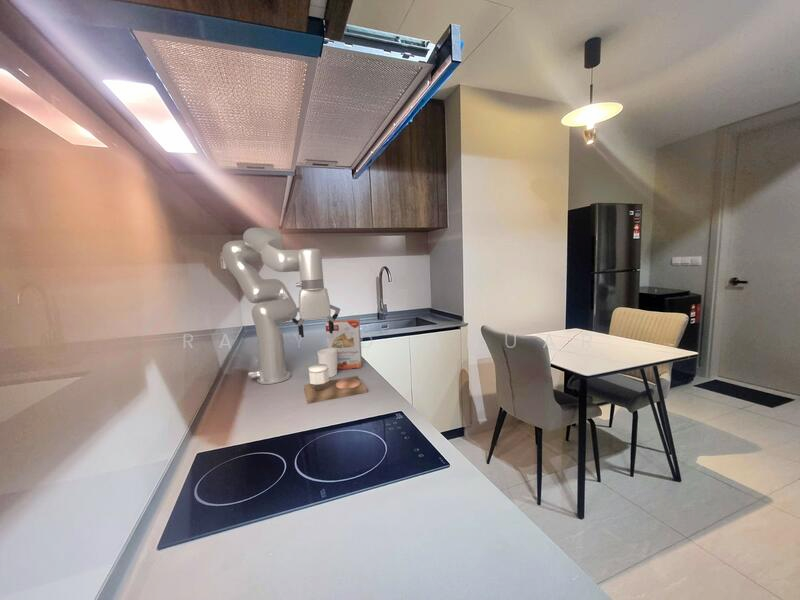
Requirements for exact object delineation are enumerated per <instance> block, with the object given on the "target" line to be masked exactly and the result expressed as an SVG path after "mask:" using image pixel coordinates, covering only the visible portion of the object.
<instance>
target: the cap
mask: <svg viewBox="0 0 800 600" xmlns="http://www.w3.org/2000/svg"><path fill="white" fill-rule="evenodd" d="M308 375H309V384H315V385H316V384H317V385H318V384H324V383H326V382H328V381H330V377H329V371H328V365H326V364H319V363H316V364H313V365H310V366H309V367H308Z"/></svg>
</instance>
